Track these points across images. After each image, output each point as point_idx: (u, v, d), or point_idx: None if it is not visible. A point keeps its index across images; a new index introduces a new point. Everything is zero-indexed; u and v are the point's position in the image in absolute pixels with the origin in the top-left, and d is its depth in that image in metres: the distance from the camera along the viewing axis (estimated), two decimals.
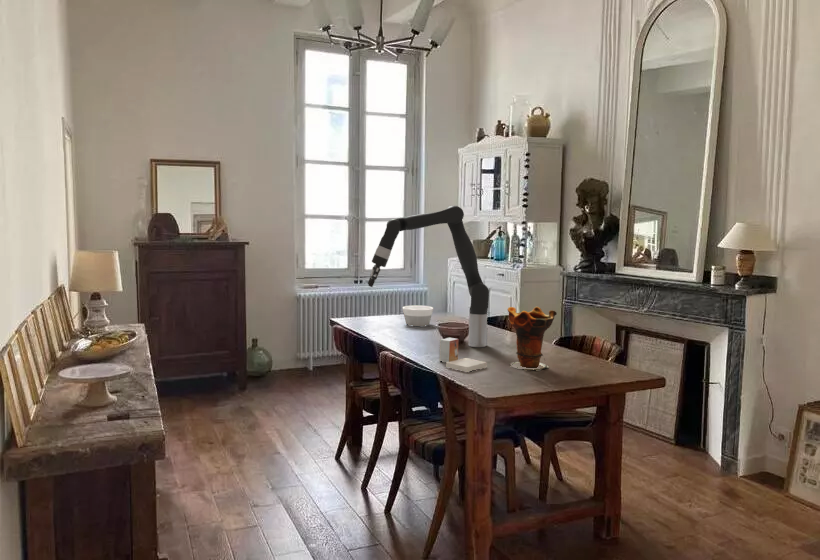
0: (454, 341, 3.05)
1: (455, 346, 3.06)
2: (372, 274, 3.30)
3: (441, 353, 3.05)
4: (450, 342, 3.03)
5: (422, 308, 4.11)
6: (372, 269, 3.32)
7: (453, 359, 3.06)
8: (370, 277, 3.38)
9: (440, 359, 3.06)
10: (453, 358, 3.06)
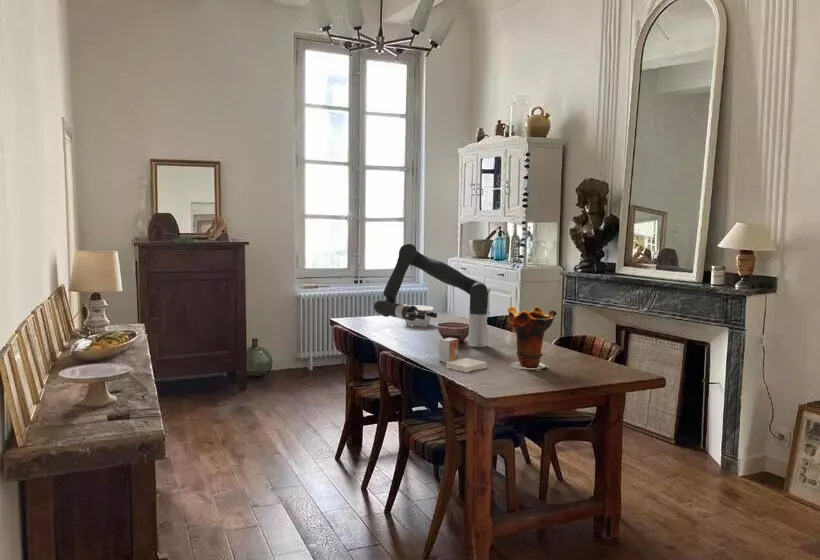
0: (454, 341, 3.05)
1: (455, 346, 3.06)
2: (415, 318, 3.15)
3: (441, 353, 3.05)
4: (450, 342, 3.03)
5: (422, 308, 4.11)
6: None
7: (453, 359, 3.06)
8: (430, 316, 3.20)
9: (440, 359, 3.06)
10: (453, 358, 3.06)
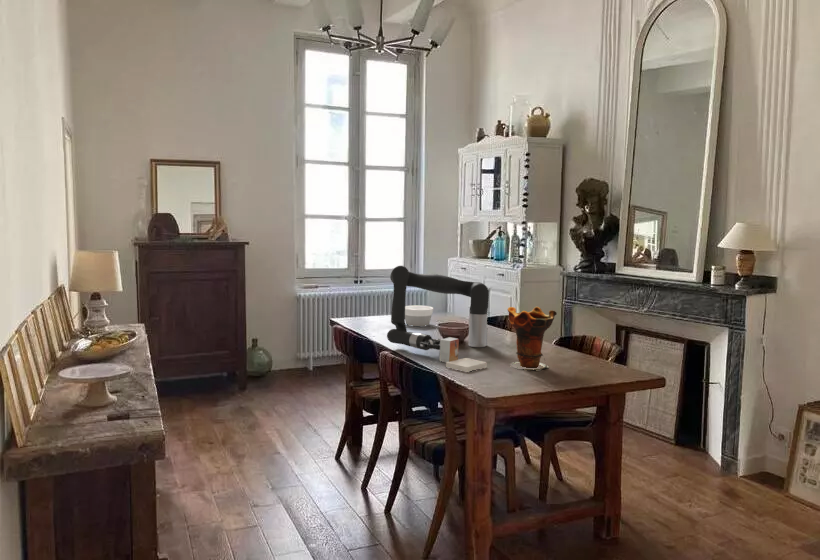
0: (454, 341, 3.05)
1: (455, 346, 3.06)
2: None
3: (441, 353, 3.05)
4: (451, 342, 3.03)
5: (422, 308, 4.11)
6: None
7: (453, 359, 3.06)
8: None
9: (440, 359, 3.06)
10: (453, 358, 3.06)
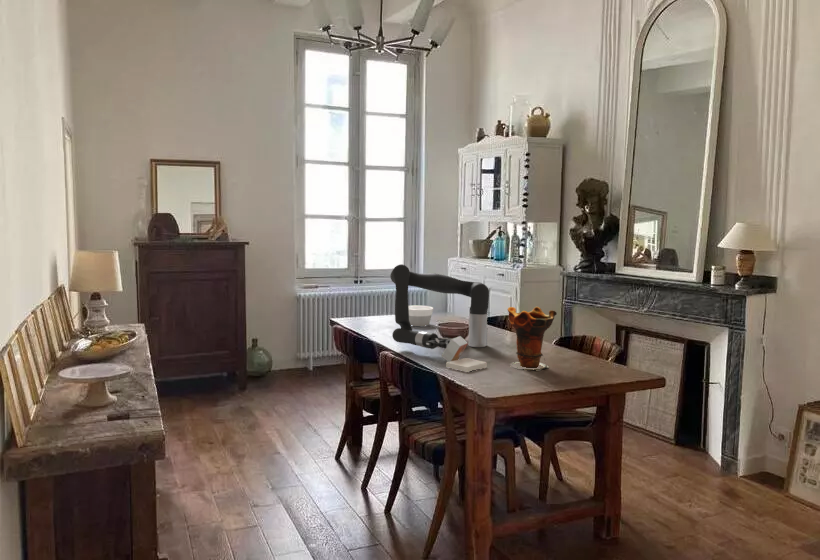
0: (463, 345, 3.02)
1: (462, 349, 3.04)
2: None
3: (446, 351, 3.03)
4: (460, 347, 2.99)
5: (422, 308, 4.11)
6: None
7: (455, 359, 3.05)
8: None
9: (443, 355, 3.04)
10: (455, 358, 3.05)
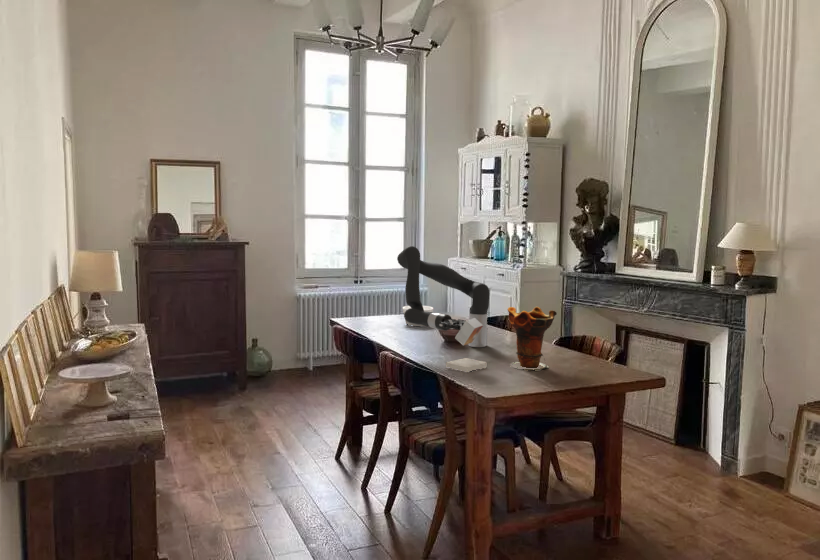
0: (478, 328, 2.91)
1: (476, 332, 2.92)
2: None
3: (460, 333, 2.91)
4: (474, 329, 2.88)
5: None
6: None
7: (468, 342, 2.94)
8: None
9: (456, 337, 2.93)
10: (469, 341, 2.93)
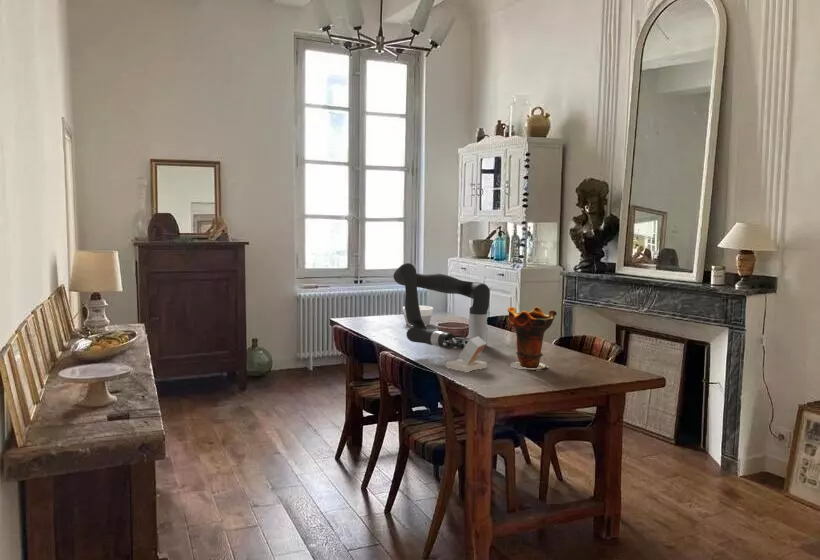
0: (482, 346, 2.89)
1: (480, 350, 2.91)
2: (453, 346, 2.94)
3: (464, 351, 2.90)
4: (478, 348, 2.87)
5: (422, 308, 4.11)
6: None
7: (472, 360, 2.93)
8: None
9: (460, 355, 2.92)
10: (472, 359, 2.92)
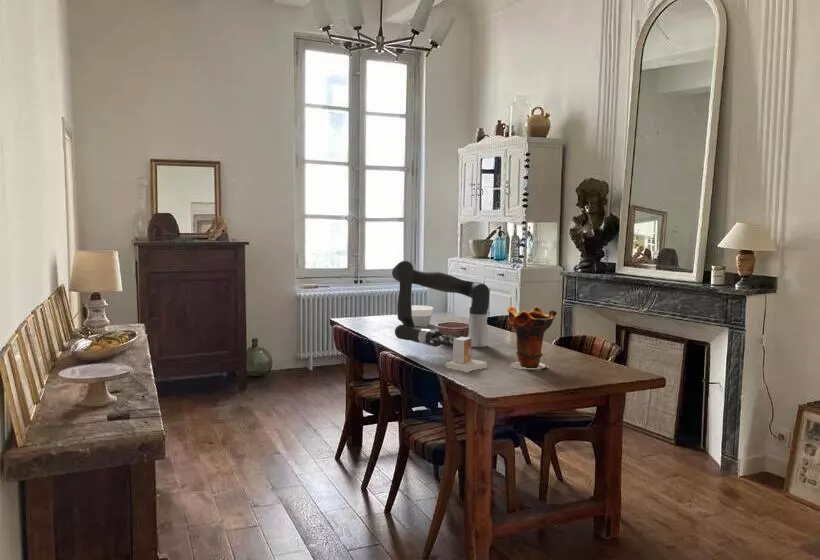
0: (468, 340, 2.95)
1: (469, 346, 2.96)
2: None
3: (455, 353, 2.94)
4: (464, 341, 2.92)
5: (422, 308, 4.11)
6: None
7: (467, 359, 2.95)
8: None
9: (454, 359, 2.95)
10: (467, 358, 2.95)
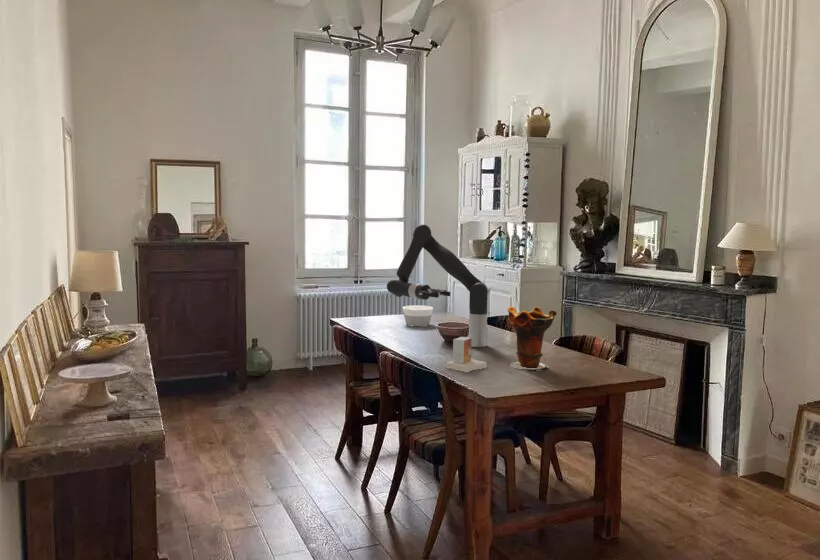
0: (468, 340, 2.95)
1: (469, 346, 2.96)
2: (428, 296, 3.17)
3: (455, 353, 2.94)
4: (464, 341, 2.92)
5: (422, 308, 4.11)
6: None
7: (467, 359, 2.95)
8: (443, 295, 3.21)
9: (454, 359, 2.95)
10: (467, 358, 2.95)
